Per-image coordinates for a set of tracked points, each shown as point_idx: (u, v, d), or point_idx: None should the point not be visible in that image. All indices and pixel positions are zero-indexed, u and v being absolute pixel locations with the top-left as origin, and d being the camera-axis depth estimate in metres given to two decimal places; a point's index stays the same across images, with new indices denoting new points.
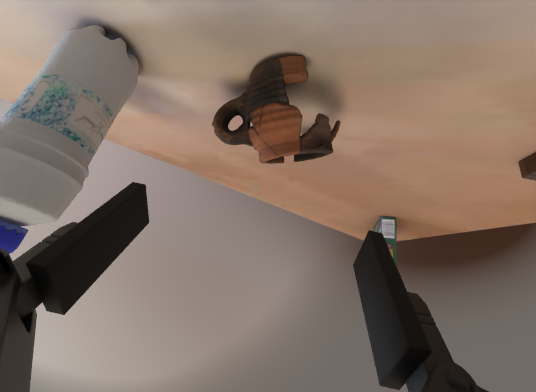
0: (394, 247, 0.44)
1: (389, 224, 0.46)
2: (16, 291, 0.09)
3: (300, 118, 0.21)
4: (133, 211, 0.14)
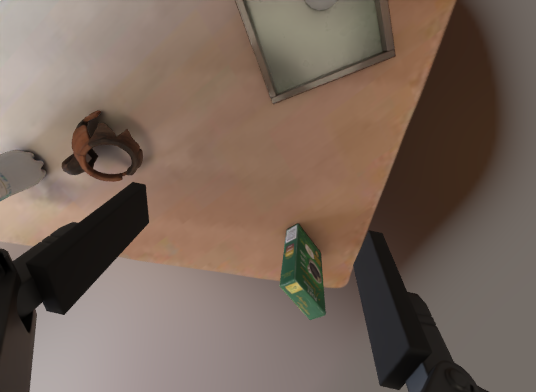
0: (295, 244, 0.39)
1: (292, 230, 0.43)
2: (16, 292, 0.09)
3: (84, 128, 0.34)
4: (133, 211, 0.14)
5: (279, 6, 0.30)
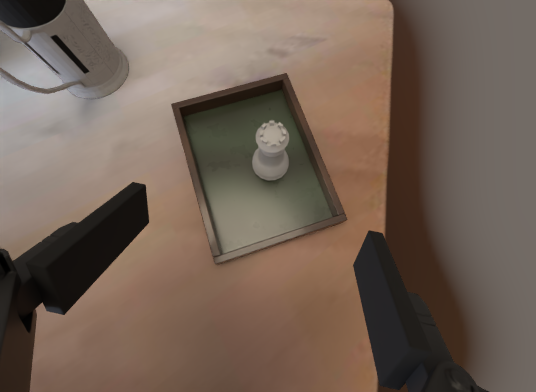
0: None
1: None
2: (16, 291, 0.09)
3: None
4: (133, 211, 0.14)
5: (230, 175, 0.31)
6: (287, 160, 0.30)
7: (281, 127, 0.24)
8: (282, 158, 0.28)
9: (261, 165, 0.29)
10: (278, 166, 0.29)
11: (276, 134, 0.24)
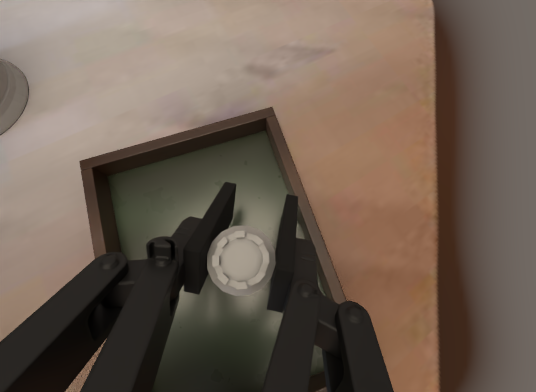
0: None
1: None
2: (173, 278, 0.10)
3: None
4: (229, 207, 0.16)
5: None
6: None
7: (260, 244, 0.12)
8: None
9: None
10: None
11: (249, 260, 0.12)
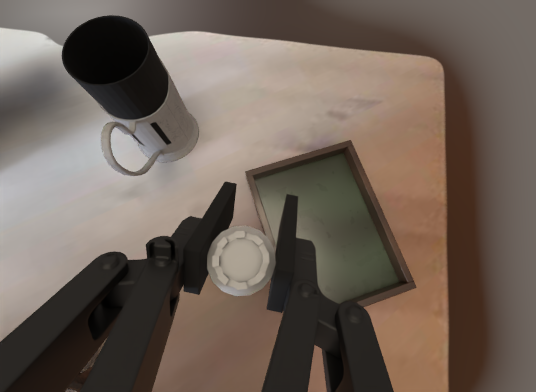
0: None
1: None
2: (173, 278, 0.10)
3: None
4: (229, 207, 0.16)
5: None
6: None
7: (260, 245, 0.12)
8: None
9: None
10: None
11: (249, 260, 0.12)
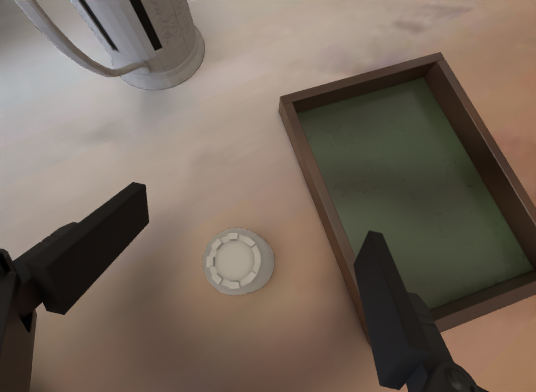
0: None
1: None
2: (16, 291, 0.09)
3: None
4: (133, 211, 0.14)
5: (368, 203, 0.21)
6: (271, 264, 0.18)
7: (252, 246, 0.12)
8: None
9: None
10: None
11: (242, 260, 0.12)
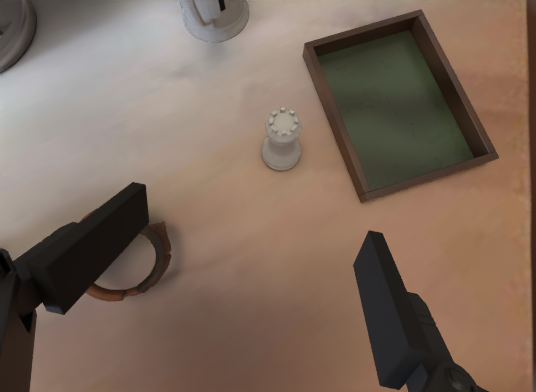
0: None
1: None
2: (16, 292, 0.09)
3: None
4: (133, 211, 0.14)
5: (364, 117, 0.31)
6: (299, 149, 0.28)
7: (293, 114, 0.22)
8: (293, 147, 0.27)
9: (271, 154, 0.27)
10: (289, 155, 0.27)
11: (287, 122, 0.22)
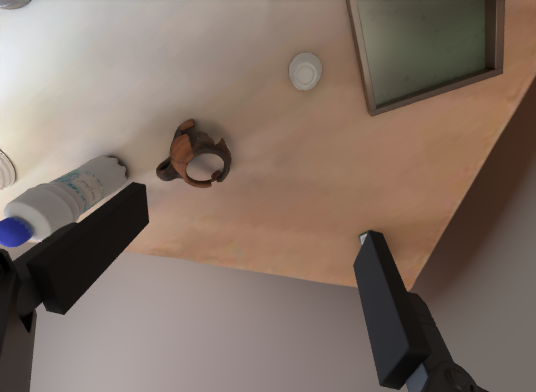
0: None
1: None
2: (16, 292, 0.09)
3: (187, 137, 0.36)
4: (133, 211, 0.14)
5: (389, 24, 0.31)
6: (320, 72, 0.33)
7: (313, 68, 0.27)
8: None
9: None
10: None
11: (308, 75, 0.28)
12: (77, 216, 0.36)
